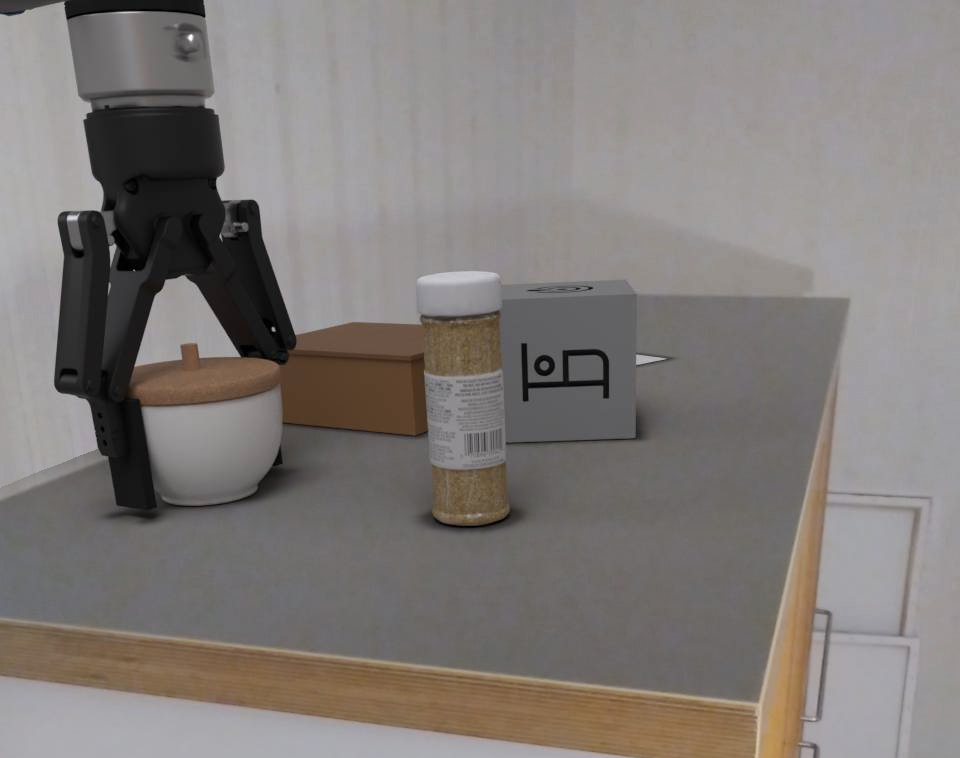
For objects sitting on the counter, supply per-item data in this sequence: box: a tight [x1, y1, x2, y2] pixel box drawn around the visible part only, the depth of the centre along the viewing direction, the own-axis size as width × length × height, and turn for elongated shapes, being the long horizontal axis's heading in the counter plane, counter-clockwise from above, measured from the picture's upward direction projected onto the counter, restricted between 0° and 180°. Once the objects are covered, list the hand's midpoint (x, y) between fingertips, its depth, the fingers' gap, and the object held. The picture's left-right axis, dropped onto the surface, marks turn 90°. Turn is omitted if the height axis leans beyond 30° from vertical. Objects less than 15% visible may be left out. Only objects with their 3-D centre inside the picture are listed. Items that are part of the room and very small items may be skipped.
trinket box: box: [125, 342, 284, 507], centre depth 70 cm, size 11×11×9 cm
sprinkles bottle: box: [415, 270, 511, 527], centre depth 62 cm, size 5×5×13 cm
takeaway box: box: [279, 321, 428, 437], centre depth 93 cm, size 16×14×6 cm
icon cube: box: [499, 279, 638, 444], centre depth 84 cm, size 10×10×10 cm
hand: (204, 483), depth 72 cm, fingers closed on trinket box, 11 cm apart
